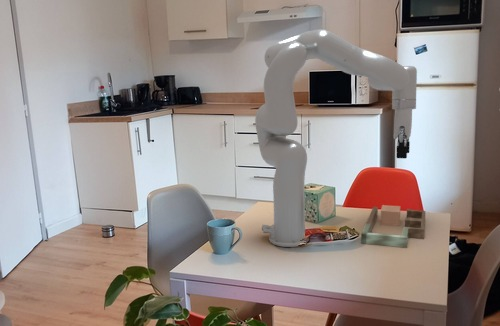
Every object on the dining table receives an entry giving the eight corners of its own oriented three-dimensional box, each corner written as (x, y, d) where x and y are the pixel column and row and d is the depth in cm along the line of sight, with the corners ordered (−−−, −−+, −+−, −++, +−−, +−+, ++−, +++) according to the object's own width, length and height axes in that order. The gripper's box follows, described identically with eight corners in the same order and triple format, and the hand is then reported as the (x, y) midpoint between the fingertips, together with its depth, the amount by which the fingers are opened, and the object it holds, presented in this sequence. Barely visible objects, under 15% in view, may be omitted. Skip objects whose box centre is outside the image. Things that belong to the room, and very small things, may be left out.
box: (361, 243, 147) (361, 233, 146) (373, 214, 174) (373, 206, 174) (422, 249, 141) (423, 239, 140) (425, 218, 168) (425, 210, 167)
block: (380, 225, 163) (380, 210, 162) (381, 218, 170) (382, 205, 169) (399, 226, 161) (399, 212, 160) (399, 220, 168) (400, 206, 167)
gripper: (395, 102, 170) (394, 150, 173) (389, 106, 154) (388, 160, 157) (417, 102, 167) (416, 151, 170) (414, 106, 151) (412, 160, 154)
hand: (403, 155), depth 164 cm, fingers open, 9 cm apart
